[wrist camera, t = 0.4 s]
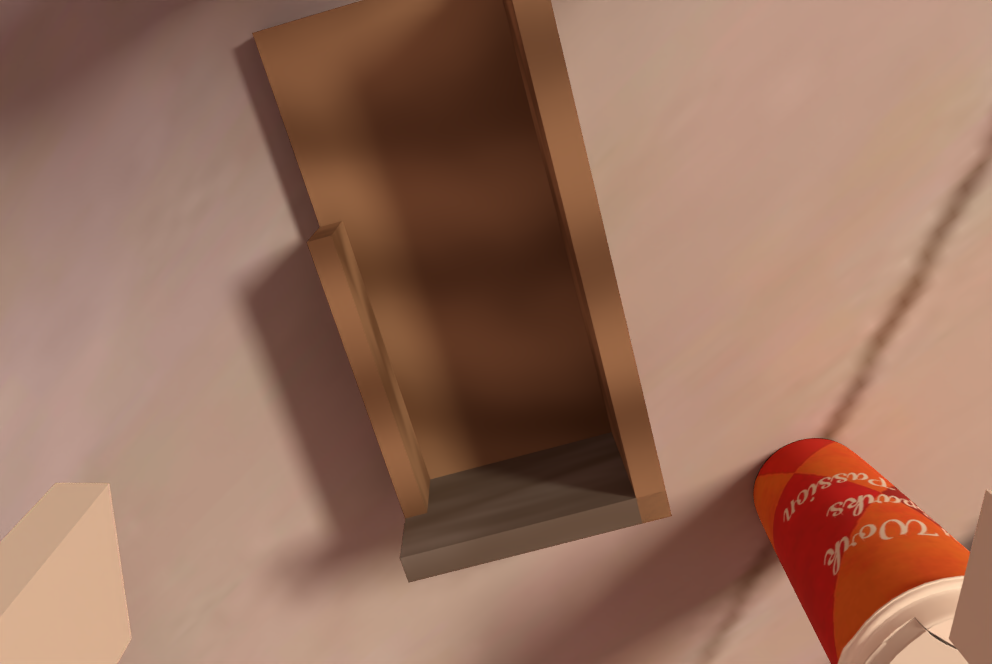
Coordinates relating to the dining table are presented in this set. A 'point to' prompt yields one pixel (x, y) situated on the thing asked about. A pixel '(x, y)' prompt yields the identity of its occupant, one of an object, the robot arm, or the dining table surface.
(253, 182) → the dining table surface
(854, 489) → the paper cup
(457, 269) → the shelf
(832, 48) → the dining table surface
